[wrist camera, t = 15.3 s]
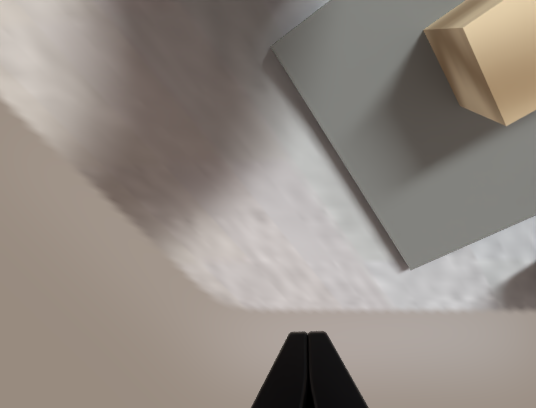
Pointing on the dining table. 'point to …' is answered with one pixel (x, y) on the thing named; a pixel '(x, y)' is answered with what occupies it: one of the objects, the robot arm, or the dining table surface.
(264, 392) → the robot arm
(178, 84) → the dining table surface
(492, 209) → the board
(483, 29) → the wooden building block
